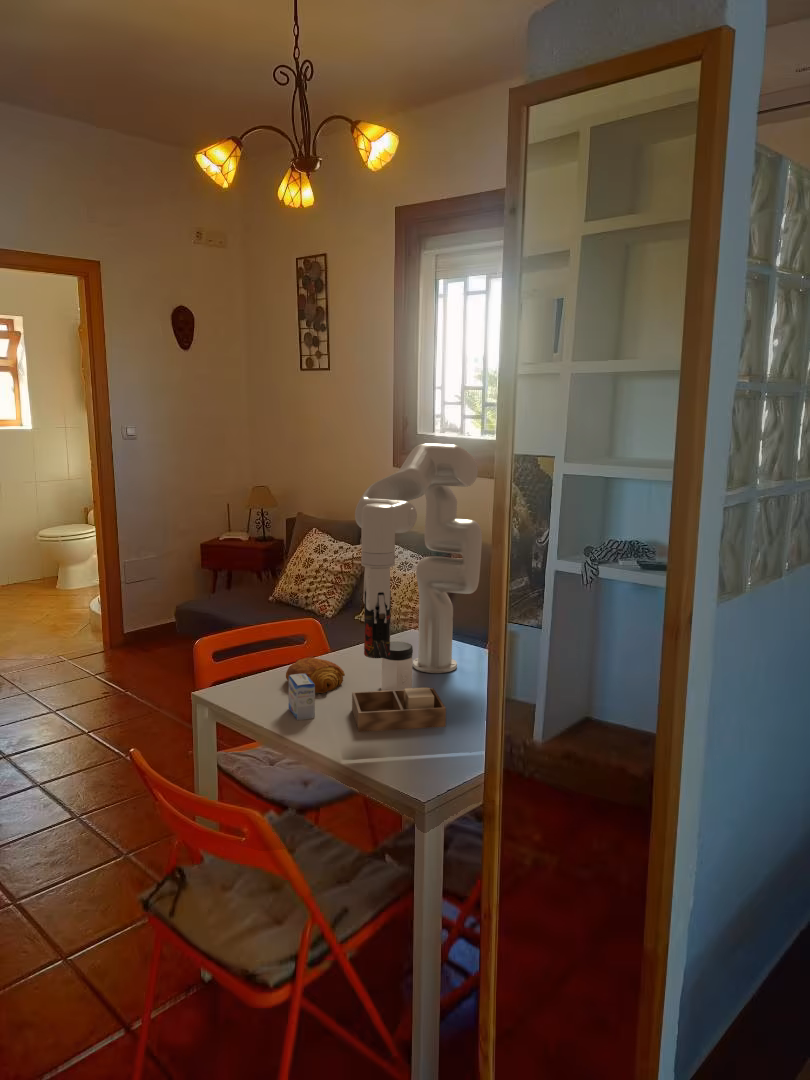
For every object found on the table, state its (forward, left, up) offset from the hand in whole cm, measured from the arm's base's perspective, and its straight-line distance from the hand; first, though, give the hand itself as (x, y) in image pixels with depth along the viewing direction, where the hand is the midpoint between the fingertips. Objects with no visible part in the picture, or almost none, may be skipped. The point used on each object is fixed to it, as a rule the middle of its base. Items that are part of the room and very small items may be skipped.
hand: (377, 635), depth 181 cm
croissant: (-27, -12, -21) cm, 36 cm away
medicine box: (-8, -17, -21) cm, 28 cm away
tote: (0, +5, -21) cm, 22 cm away
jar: (-20, +8, -21) cm, 30 cm away
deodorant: (0, 0, -5) cm, 5 cm away
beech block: (0, +10, -20) cm, 23 cm away
